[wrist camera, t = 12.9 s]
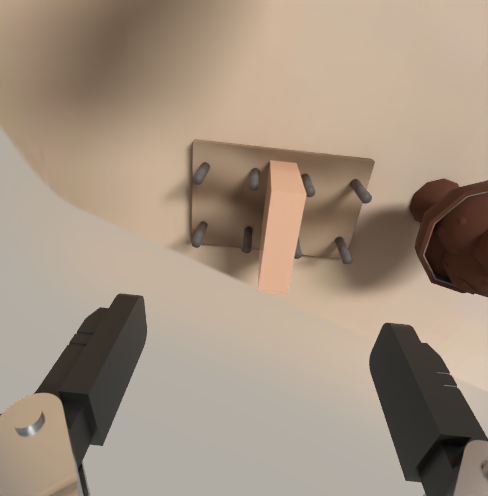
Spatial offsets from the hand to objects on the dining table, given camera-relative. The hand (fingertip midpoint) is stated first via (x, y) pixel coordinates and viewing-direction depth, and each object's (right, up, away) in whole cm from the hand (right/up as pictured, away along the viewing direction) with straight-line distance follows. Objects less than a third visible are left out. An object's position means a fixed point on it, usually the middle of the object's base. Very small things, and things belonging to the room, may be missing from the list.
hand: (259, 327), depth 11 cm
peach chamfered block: (+3, +8, +25) cm, 27 cm away
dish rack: (+3, +8, +26) cm, 28 cm away
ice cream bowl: (+21, +8, +26) cm, 34 cm away
